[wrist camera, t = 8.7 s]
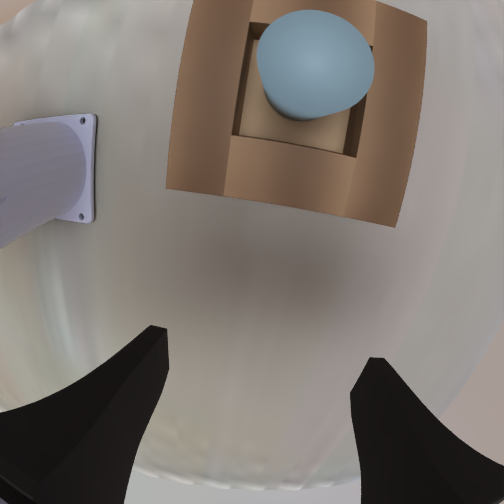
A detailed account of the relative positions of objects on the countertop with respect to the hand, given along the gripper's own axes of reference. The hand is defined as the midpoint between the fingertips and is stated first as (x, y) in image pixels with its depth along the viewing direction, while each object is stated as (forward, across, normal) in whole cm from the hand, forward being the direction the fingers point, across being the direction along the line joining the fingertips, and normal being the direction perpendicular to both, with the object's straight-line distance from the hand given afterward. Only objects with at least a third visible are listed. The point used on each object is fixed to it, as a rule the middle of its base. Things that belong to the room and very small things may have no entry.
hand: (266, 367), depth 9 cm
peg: (+10, 0, -10) cm, 14 cm away
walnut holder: (+10, 0, -10) cm, 14 cm away
